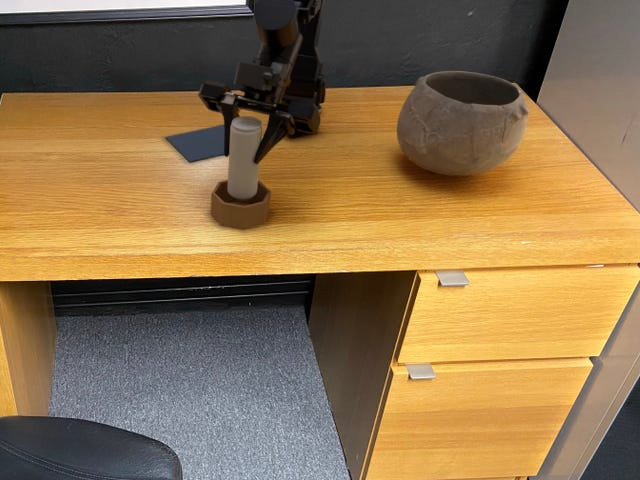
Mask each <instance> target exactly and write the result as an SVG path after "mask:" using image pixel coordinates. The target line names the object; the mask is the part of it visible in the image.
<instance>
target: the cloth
mask: <svg viewBox="0 0 640 480" xmlns="http://www.w3.org/2000/svg"><path fill="white" fill-rule="evenodd" d="M165 139H166V141H167V142H168V143H169V144H170V145H171V146H173V147H174V149H175V150H176V151H177V152H179V153H180V155H181V156H182V157H184V159H185V160H187V162H188V163H193V162H199V161H203V160H207V159H213V158H216V157H221V156H225V155H224V124H221V125H216V126H211V127H207V128H201V129H197V130H192V131H188V132H187V131H186V132H183V133H177V134H173V135H169V136H165Z"/></svg>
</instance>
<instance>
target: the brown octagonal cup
mask: <svg viewBox="0 0 640 480" xmlns="http://www.w3.org/2000/svg"><path fill="white" fill-rule="evenodd" d="M227 187H228V179H225V180H222V181H218V182H217V183H216V186H215V187H214V188H213V190H212V191H211V199H210V200H211V202H210V215H211V216H212V217H213V218H214V219H215V220H216V221H217V222H218V223H219V224H220V225H221V226H223V227H228V228H229V227H230V228H234V229H238V230H246V229H250V228H254V227H258V226H262V225H264V224H265V222H266V220H267V218H268V216H269V214H270V211H271V210H270V209H271V199H272V191H271V190H270V189H269V188H268V187H267V186H266V185H265V184H264V183H263V182H262V181H260V180H258V185H257V193H256V194H255V195H254V196H253V197H252V198H250V199H246V200H240V199H236V198H233V197H232V196H231V195H230V194H229V193H228V191H227ZM235 201H241V202H246V203H251V204H247V205H241V204H235V203H231V202H235Z"/></svg>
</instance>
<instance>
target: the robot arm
mask: <svg viewBox="0 0 640 480" xmlns="http://www.w3.org/2000/svg"><path fill="white" fill-rule="evenodd" d="M325 6H326V0H258V1H257V3H255V5H254V9H253V10H254V11H253V14H254V20H255V25H256V29H257V32H258V36H259V39H260V42H261V46H260V49H259V52H258V55H257V57H253V59H252V60H251V62H250V63H248V62H244V61H238V62H237V67H236V70H235V76H234V81H233V85H234V86H235V85H236V86H239V87H238V89H239V91H240V92H241V93H244V94H243V95H241V94H237V93H233V92H232V90H231V88H230V87H229V85H228V84H227V83H223V82H219V81H214V80H209V79H207V80H206V81H205V82H203V83H202V84H201V86H200V88H199V91H198V93H197V96H198V97H199V98H200V100H201V102H202V103H203V104H204V106H205V107H206V109H207V110H209V111H210V112H215V113H218V114H221V115H222V117H223V125H224V155H223V156H225V157H226V158H229V147H230V128H231V124H232V120H233V119H235V118H237V117H241V115H240V112H241V111H242V110H244V111H250V112H254V113H258V114H261V115H267V116H268V120H267V126H266V129H265V131H264V134H263V135H262V138H261V143H260V145H259V147H258V150H257V152H256V155H255V159H254V163H255V164H258V163H259V164H260V163H261V161H262V160H264V158H265V157H266V156H267V155H268V154H269V153H270V151H272V149H274V147H275V146H277V144H279V143H280V142H281V141H282V140H283V139H285V138H286V137H287V138H289V139H296V138H300V137H305V136H308V135H316V134H317V133H318V131H319V127H320V125H321V121H322V120H321V119H322V118H321V116H320V113H319V112H318V110H317V107H316V106H319V104H320V105H321V104H325V102H326V101H325V100H326V93H327V81H326V80H325V73H324V72H322V70H323V65H324V62H323V60H322V56H321V53H320V51H319V47H318V46H319V40H320V39H319V38H320V33H321V28H322V22H323V16H324V11H325Z"/></svg>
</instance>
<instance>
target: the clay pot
mask: <svg viewBox="0 0 640 480" xmlns="http://www.w3.org/2000/svg"><path fill="white" fill-rule="evenodd" d="M413 86H414V88H413V89H412V90H411V91H410V93H409V94H408V96H407V97H406V98H405V99H406V100H405V101H404V103H403V105H402V107H401V109H400V112H399V114H398V117H397V124H396V138H397V142H398V145H399V147H400V150H401V151H402V152H403V153H404V155H405V156H406V158H407V159H408V160H409V161H411V162H413V163H414V164H415V165H416V166H418V167H420V168H422V169H424V170H426V171H429V172H431V173H434V174H440V175H445V176H475V175H481V174H482V175H483V174H485V173H488V172H491V171H493V170H495V169H497V168H499V167H500V166H502V165H503V164H505V163H506V162H508V161H509V160H510V159H511V158H512V157H513V156H514V155H515V154H516V153H517V151H518V150H519V147H520V146H521V144H522V143H523V140H524V138H525V135H526V132H527V129H528V120H529V117H528V116H529V114H530V113H531V108H530V106H529V104H528V103H527V102H526V98H525V95H524V93H523V92H522V91H521V89H520V87H518V85H516V84H515V83H513V82H510V81H508V80H506V79H504V78H500V77H498V76H494V75H490V74H485V73H480V72H479V73H478V72H471V71H463V70H444V71H443V70H442V71H436V72H433V73H429V74H426V75H425V76H424V75H423V76H420V77H419V78H418V79H417V81H415V82H414V84H413Z"/></svg>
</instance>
